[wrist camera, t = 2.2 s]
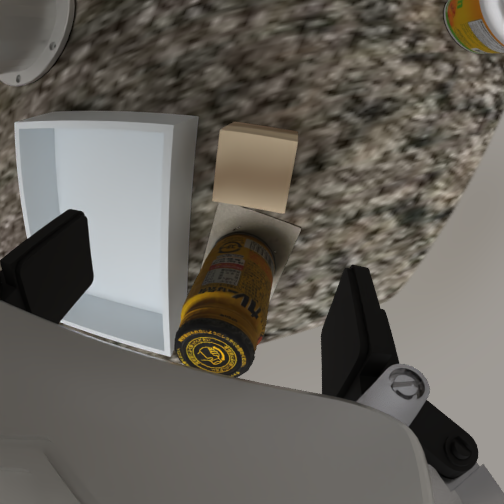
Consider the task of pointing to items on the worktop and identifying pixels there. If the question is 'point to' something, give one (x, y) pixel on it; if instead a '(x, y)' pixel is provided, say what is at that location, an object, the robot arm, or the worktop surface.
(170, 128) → the tote
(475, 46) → the supplement bottle
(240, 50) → the worktop surface
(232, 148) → the cube
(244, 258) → the condiment
